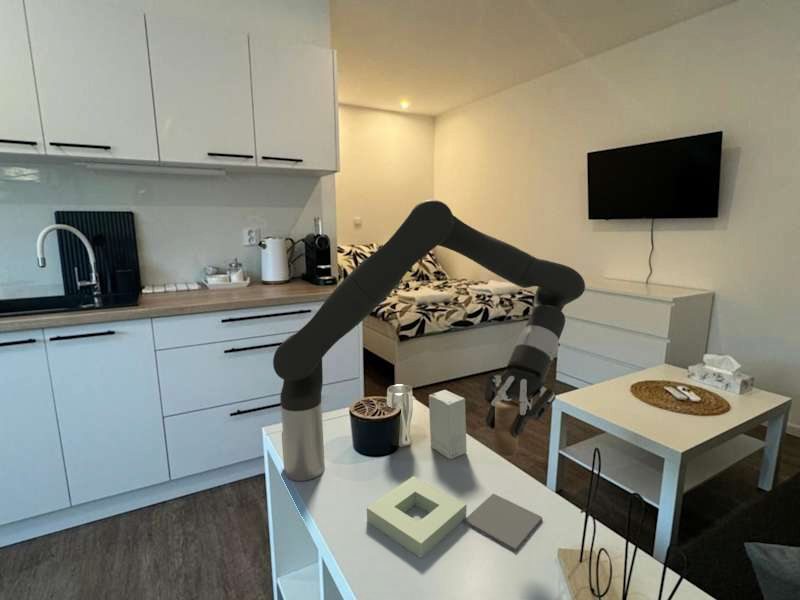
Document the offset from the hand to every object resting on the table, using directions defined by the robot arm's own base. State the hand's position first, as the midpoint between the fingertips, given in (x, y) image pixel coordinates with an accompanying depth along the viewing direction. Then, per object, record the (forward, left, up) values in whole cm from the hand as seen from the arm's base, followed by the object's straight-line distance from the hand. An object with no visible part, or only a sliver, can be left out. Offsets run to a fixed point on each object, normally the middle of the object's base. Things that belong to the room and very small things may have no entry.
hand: (501, 431), depth 78 cm
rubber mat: (0, +2, -20) cm, 20 cm away
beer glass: (-36, +11, -20) cm, 43 cm away
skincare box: (-24, +16, -20) cm, 35 cm away
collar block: (-13, -9, -20) cm, 26 cm away
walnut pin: (0, +2, -5) cm, 5 cm away
